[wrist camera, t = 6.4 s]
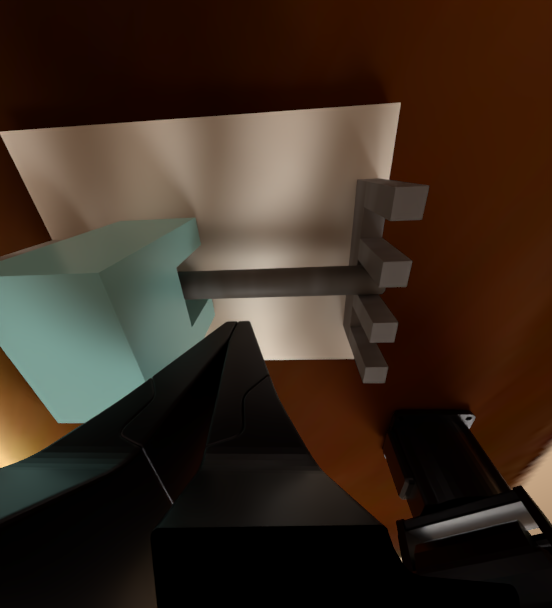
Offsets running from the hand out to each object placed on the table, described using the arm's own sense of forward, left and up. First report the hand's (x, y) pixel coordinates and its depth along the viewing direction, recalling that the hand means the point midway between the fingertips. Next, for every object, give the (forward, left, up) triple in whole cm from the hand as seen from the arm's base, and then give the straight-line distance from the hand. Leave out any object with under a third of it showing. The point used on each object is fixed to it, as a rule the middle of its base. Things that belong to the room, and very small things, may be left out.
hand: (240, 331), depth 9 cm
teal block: (+5, 0, -6) cm, 8 cm away
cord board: (+2, 0, -7) cm, 8 cm away
